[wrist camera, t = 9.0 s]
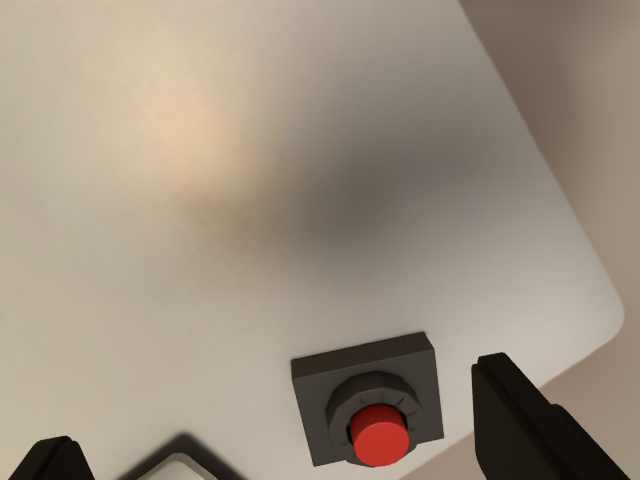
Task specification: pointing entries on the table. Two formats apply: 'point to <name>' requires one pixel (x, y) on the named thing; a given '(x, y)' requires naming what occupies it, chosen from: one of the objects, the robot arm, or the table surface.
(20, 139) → the table surface
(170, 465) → the light switch
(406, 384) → the button base
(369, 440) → the button
